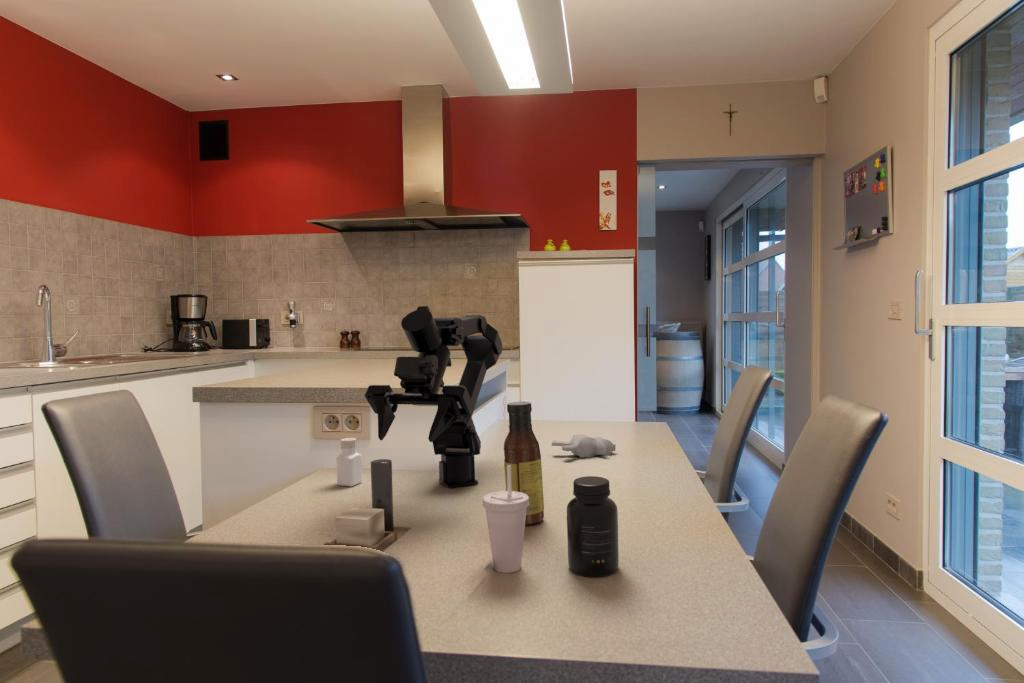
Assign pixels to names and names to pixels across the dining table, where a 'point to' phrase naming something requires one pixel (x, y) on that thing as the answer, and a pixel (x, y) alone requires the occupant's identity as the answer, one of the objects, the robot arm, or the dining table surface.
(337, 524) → the birch block
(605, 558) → the supplement bottle
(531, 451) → the sauce bottle
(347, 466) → the white plastic bottle
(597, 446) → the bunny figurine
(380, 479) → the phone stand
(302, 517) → the dining table surface
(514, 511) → the smoothie
